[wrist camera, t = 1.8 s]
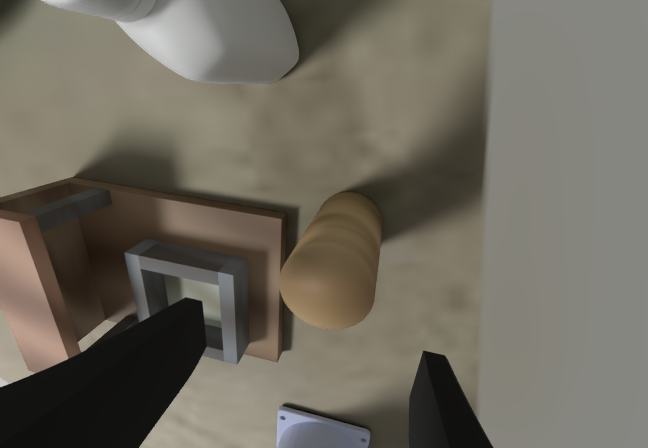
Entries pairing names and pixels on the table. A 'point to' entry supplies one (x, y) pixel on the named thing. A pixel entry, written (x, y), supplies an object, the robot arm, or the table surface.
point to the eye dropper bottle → (206, 35)
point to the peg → (335, 264)
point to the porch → (137, 267)
